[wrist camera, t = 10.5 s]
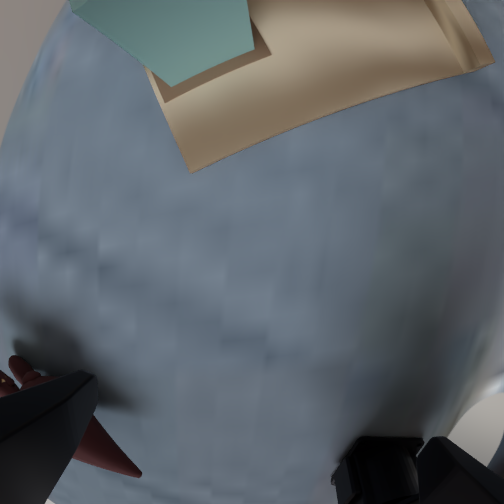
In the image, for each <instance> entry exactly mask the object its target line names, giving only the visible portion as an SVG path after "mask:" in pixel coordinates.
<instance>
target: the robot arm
mask: <svg viewBox="0 0 504 504" xmlns="http://www.w3.org/2000/svg"><path fill="white" fill-rule="evenodd" d="M97 403H98V387H97V377H96V375H94V374H93V373H90V372H88V371H85V370H78V371H75V372H72V373H70V374H67V375H64V376H61V377H58V378H56V379H53V380H50V381H47V382H44V383H41V384H39V385H36V386H33V387H30V388H27V389H24V390H21V391H18V392H15V393H12V394H9V395H6V396H3V397H0V504H45V502H46V500H47V499H48V497H49V495H50V494H51V492H52V490H53V489H54V487H55V485H56V483H57V482H58V480H59V478H60V477H61V475H62V473H63V472H64V470H65V468H66V467H67V465H68V464H69V462H70V460H71V459H72V457H73V455H74V453H75V452H76V450H77V448H78V446H79V444H80V441H81V439H82V437H83V435H84V432H85V430H86V428H87V426H88V424H89V421H90V419H91V417H92V415H93V413H94V411H95V409H96V406H97ZM423 445H424V440H423V439H422V438H385V437H361V438H359V439H358V440H357V441H356V443H355V444H354V446H353V448H352V449H351V451H350V452H349V454H348V455H347V456H346V457H345V458H344V460H343V461H342V463H341V464H340V466H339V467H338V469H337V470H336V472H335V473H334V476H333V477H332V479H331V484H332V485H334V486H336V492H337V499H338V504H504V479H502V478H501V477H499V476H498V475H497V474H495V473H494V472H493V471H491V470H490V469H488V468H487V467H486V466H484V465H483V464H482V463H480V462H479V461H477V460H476V459H475V458H473V457H472V456H471V455H469V454H468V453H467V452H465V451H464V450H462V449H461V448H460V447H458V446H457V445H456V444H454V443H453V442H452V441H450V440H449V439H448V438H446V437H444V436H438V437H432V438H431V439H430V440H429V441H428V443H427V444H426V445H425V447H424V448H423V450H422V451H421V452H420V453H419V455H418V457H416V454H417V453H418V452H419V450H420V449H421V448H422V446H423Z"/></svg>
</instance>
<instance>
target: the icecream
mask: <svg viewBox="0 0 504 504" xmlns="http://www.w3.org/2000/svg"><path fill="white" fill-rule="evenodd" d="M9 368H10V370H11V371H12V373H13V375H14V376H15V378H16V380H17V381H18V382H20V383H21V384H22V387H21V388H20V389H19V388H18V386H17V385H16V384H15V383H14V380H13V379H11V378H10V377H9V376H7V375H6V374H5V373H4V372H2V371H1V370H0V397H3V396H6V395H9V394H12V393H15V392H18V391H21V390H24V389H27V388H30V387H33V386H36V385H39V384H41V383H44V382H47V381H50V380H53V379H56V378H58V377H55V376H41V374H40V373H39V372H37V371H34V370H33V368H32V367H31V365H29V364H28V363H27V362H26V361H25V360H23V359H22V358H21V357H19V356H16V355H12V356H11V357H10V358H9ZM72 458H74V459H76V460H79V461H82V462H85V463H88V464H91V465H94V466H97V467H100V468H103V469H107V470H110V471H113V472H117V473H120V474H124V475H128V476H132V477H136V478H140V477H141V476H142V472H141V471H140V470H139V468H138V467H137V466H136V465H135V464H134V463H133V462H132V461H131V460H130V459H129V458H128V457H127V455H126V454H125V453H124V452H123V451H122V450H121V449H120V447H119V446H118V445H117V444H116V443H115V442H114V440H113V439H112V438H111V437H110V435H109V434H108V433H107V432H106V430H105V429H104V428H103V427H102V425H101V424H100V423H99V422H98V420H97V419H96V418H95V416H94V415H92V417H91V419H90V421H89V424H88V426H87V428H86V430H85V432H84V435H83V437H82V439H81V441H80V444H79V446H78V448H77V450H76V452H75V453H74V455H73V457H72Z"/></svg>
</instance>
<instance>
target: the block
mask: <svg viewBox="0 0 504 504" xmlns="http://www.w3.org/2000/svg"><path fill="white" fill-rule="evenodd" d="M69 1H70V5H71V9H72V12H73V13H74V14H76V15H77V16H79V17H80V18H82V19H83V20H84V21H86V22H87V23H89V24H90V25H91V26H93V27H94V28H96V29H97V30H98V31H100V32H101V33H102V34H104V35H105V36H107V37H108V38H109V39H111V40H112V41H113V42H115V43H116V44H117V45H119V46H120V47H121V48H123V49H124V50H125V51H126V52H128V53H129V54H130V55H132V56H133V57H134V58H136V59H137V60H138V61H139V62H141V63H142V64H143V65H144V66H146V67H147V68H148V69H149V70H151V71H152V72H153V73H155V74H156V75H157V76H158V77H159V78H161V79H162V80H163V81H164V82H166V83H167V84H168V85H169V86H170V87H173V86H175V85H177V84H179V83H181V82H183V81H185V80H187V79H189V78H191V77H193V76H195V75H197V74H199V73H201V72H203V71H205V70H207V69H209V68H212V67H214V66H216V65H218V64H220V63H223V62H225V61H227V60H230V59H232V58H234V57H237V56H239V55H242V54H244V53H247V52H249V51H252V50H254V42H253V36H252V30H251V23H250V17H249V11H248V5H247V0H69Z"/></svg>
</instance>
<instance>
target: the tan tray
mask: <svg viewBox="0 0 504 504" xmlns="http://www.w3.org/2000/svg"><path fill="white" fill-rule="evenodd" d="M247 5H248V11H249V17H250V23H251V30H252V36H253V42H254V50H252V51H249V52H247V53H244V54H242V55H239V56H237V57H234V58H232V59H230V60H227V61H225V62H223V63H220V64H218V65H216V66H214V67H212V68H209V69H207V70H205V71H203V72H201V73H199V74H197V75H195V76H193V77H191V78H189V79H187V80H185V81H183V82H181V83H179V84H177V85H175V86H173V87H170V86H169V85H168V84H167V83H166V82H164V81H163V80H162V79H161V78H159V77H158V76H157V75H156V74H155V73H153V72H152V71H151V70H149V69H148V68H147V67H146V66H144V65H143V66H144V68H145V71H146V73H147V75H148V78H149V80H150V83H151V85H152V87H153V90H154V92H155V94H156V97H157V99H158V101H159V104H160V106H161V108H162V111H163V113H164V115H165V117H166V120H167V122H168V124H169V127H170V129H171V131H172V133H173V136H174V138H175V140H176V143H177V145H178V147H179V149H180V152H181V154H182V156H183V158H184V161H185V163H186V165H187V167H188V170H189V172H190V173H194V172H196V171H198V170H200V169H202V168H204V167H207V166H209V165H211V164H213V163H215V162H217V161H219V160H221V159H224V158H226V157H228V156H230V155H232V154H235V153H237V152H239V151H241V150H244V149H246V148H248V147H250V146H253V145H255V144H257V143H260V142H262V141H264V140H267V139H269V138H271V137H274V136H276V135H279V134H281V133H283V132H286V131H288V130H291V129H293V128H296V127H298V126H301V125H304V124H306V123H309V122H311V121H314V120H317V119H319V118H322V117H325V116H327V115H330V114H333V113H335V112H338V111H341V110H344V109H347V108H349V107H352V106H355V105H358V104H361V103H364V102H367V101H370V100H373V99H376V98H379V97H382V96H386V95H389V94H392V93H395V92H398V91H402V90H405V89H409V88H412V87H415V86H419V85H422V84H426V83H430V82H433V81H437V80H441V79H445V78H449V77H453V76H457V75H461V74H465V73H470V72H474V71H477V70H479V69H481V68H483V67H486V66H488V65H490V64H493V63H495V60H494V58H493V56H492V54H491V52H490V50H489V48H488V46H487V44H486V42H485V40H484V38H483V36H482V35H481V33H480V31H479V29H478V27H477V26H476V24H475V22H474V20H473V19H472V17H471V15H470V13H469V12H468V10H467V9H466V7H465V5H464V4H463V2H462V1H461V0H247Z"/></svg>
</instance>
